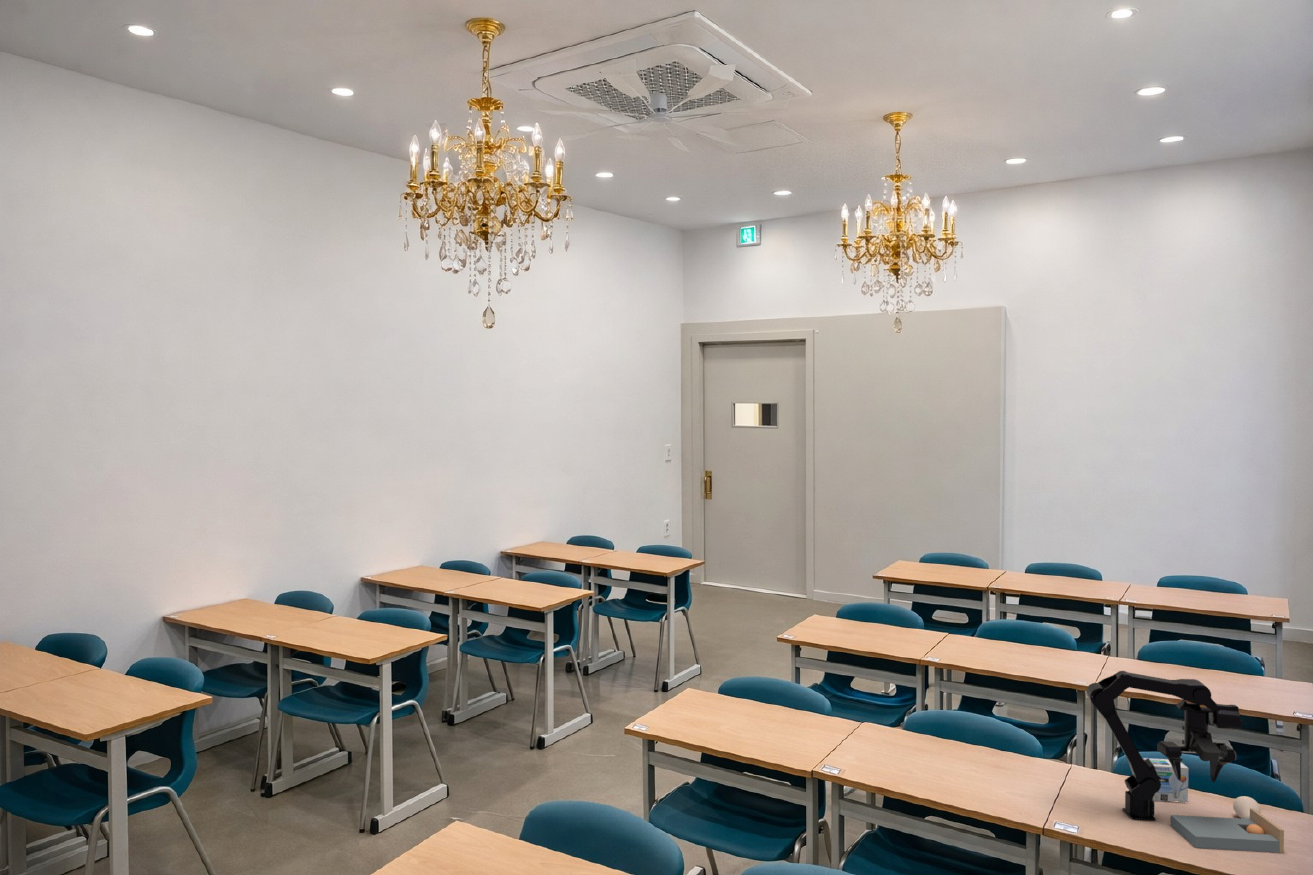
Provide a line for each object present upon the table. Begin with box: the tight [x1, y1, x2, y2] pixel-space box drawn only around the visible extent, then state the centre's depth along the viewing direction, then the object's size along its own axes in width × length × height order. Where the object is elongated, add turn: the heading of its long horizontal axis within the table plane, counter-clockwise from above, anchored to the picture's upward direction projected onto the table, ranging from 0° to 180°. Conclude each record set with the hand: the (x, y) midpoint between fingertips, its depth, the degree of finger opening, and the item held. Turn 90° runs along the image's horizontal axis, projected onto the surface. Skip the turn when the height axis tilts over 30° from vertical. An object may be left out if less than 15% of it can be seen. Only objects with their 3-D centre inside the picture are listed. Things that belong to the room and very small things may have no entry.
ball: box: [1246, 824, 1264, 834], centre depth 227 cm, size 4×4×4 cm
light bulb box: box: [1142, 757, 1190, 803], centre depth 253 cm, size 11×7×11 cm, turn 83°
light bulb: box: [1232, 795, 1261, 819], centre depth 237 cm, size 7×7×11 cm
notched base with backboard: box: [1169, 808, 1285, 854], centre depth 227 cm, size 22×13×6 cm, turn 84°
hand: (1195, 780), depth 236 cm, fingers open, 9 cm apart
